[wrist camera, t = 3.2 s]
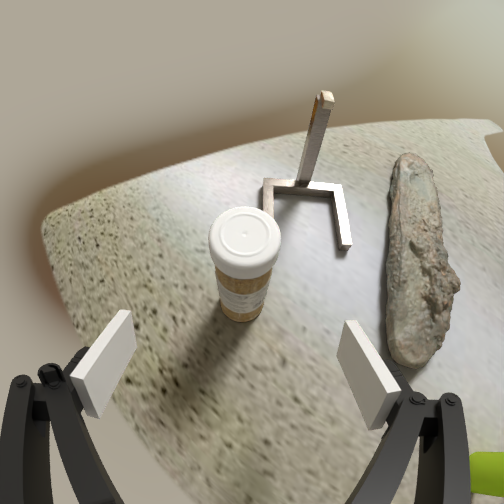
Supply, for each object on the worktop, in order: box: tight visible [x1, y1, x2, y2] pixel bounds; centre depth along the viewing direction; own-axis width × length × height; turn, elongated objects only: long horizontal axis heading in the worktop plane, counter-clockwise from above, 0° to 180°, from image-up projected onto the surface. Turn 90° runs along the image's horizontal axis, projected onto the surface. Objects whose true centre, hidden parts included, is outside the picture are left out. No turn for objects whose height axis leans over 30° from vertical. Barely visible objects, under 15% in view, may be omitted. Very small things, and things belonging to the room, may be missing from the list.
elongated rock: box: [385, 153, 461, 369], centre depth 32 cm, size 35×5×10 cm
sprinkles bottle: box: [208, 207, 281, 322], centre depth 23 cm, size 5×5×14 cm
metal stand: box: [262, 91, 352, 251], centre depth 28 cm, size 10×10×15 cm
